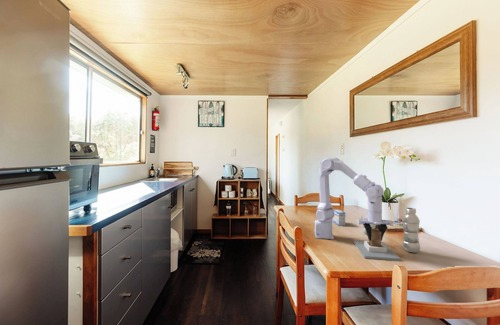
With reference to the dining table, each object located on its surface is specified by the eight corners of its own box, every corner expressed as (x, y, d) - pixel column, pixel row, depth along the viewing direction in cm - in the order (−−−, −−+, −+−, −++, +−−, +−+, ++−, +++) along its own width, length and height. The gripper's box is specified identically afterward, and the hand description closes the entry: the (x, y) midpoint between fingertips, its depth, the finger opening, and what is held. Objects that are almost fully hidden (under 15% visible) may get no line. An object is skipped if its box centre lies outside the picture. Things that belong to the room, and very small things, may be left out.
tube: (374, 230, 121) (379, 219, 141) (363, 225, 124) (370, 215, 144) (370, 238, 122) (376, 226, 142) (360, 233, 125) (368, 222, 145)
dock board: (364, 258, 95) (364, 251, 95) (353, 242, 113) (353, 236, 113) (400, 260, 93) (400, 253, 93) (383, 244, 110) (383, 238, 110)
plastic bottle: (421, 255, 97) (421, 210, 97) (402, 252, 101) (402, 209, 100) (419, 250, 103) (419, 207, 102) (401, 247, 106) (401, 206, 106)
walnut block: (371, 248, 101) (371, 231, 101) (368, 245, 105) (368, 228, 105) (381, 249, 100) (381, 231, 100) (378, 245, 104) (378, 229, 104)
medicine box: (333, 222, 148) (333, 209, 148) (339, 222, 149) (339, 209, 149) (338, 226, 140) (338, 212, 140) (345, 225, 141) (345, 212, 141)
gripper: (360, 212, 100) (360, 242, 100) (395, 213, 97) (395, 244, 97) (356, 209, 107) (356, 236, 107) (389, 209, 104) (389, 238, 104)
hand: (374, 239), depth 103 cm, fingers closed on walnut block, 4 cm apart
